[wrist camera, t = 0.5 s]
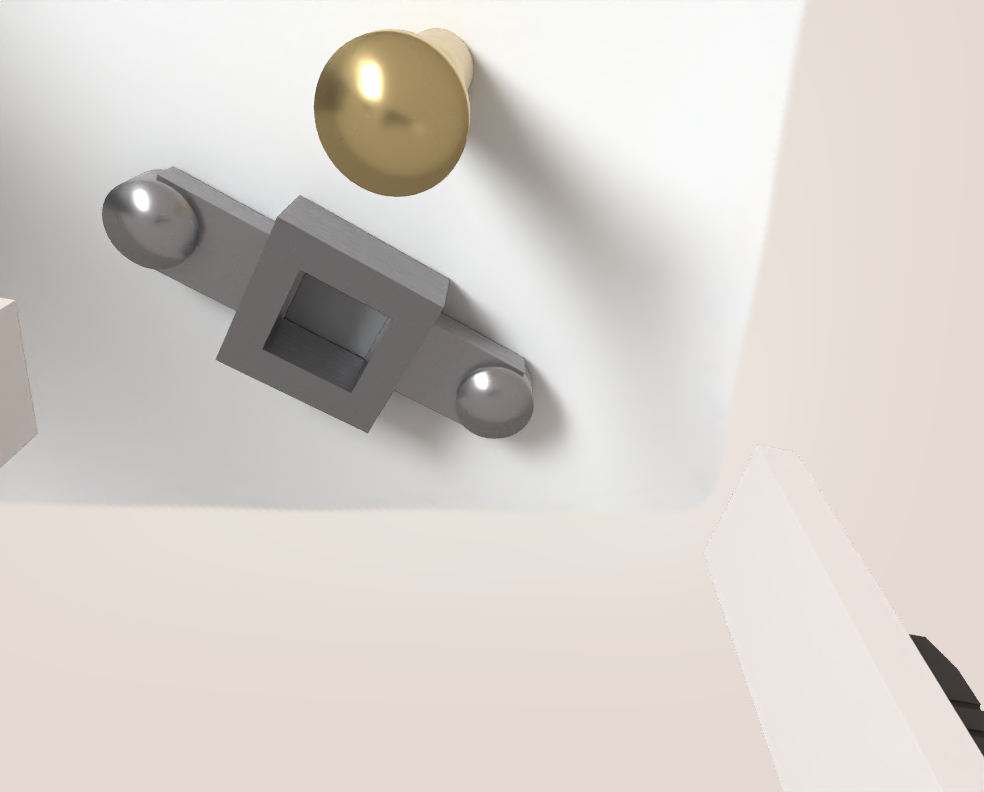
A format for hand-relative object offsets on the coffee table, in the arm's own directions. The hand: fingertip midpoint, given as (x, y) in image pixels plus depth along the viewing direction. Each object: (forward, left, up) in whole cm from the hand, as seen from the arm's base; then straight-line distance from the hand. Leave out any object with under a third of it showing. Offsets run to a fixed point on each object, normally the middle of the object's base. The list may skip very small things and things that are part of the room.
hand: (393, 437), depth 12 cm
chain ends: (-2, -9, -22) cm, 23 cm away
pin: (-3, +3, -22) cm, 22 cm away
